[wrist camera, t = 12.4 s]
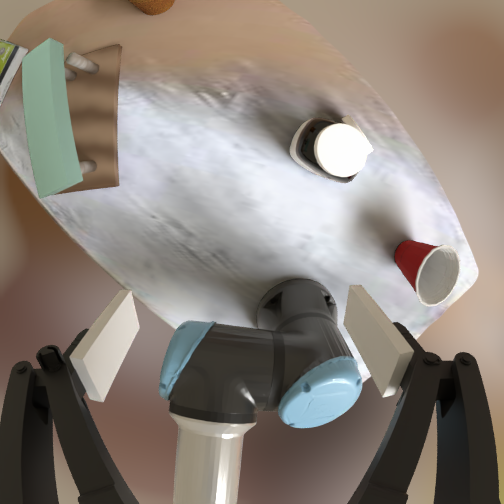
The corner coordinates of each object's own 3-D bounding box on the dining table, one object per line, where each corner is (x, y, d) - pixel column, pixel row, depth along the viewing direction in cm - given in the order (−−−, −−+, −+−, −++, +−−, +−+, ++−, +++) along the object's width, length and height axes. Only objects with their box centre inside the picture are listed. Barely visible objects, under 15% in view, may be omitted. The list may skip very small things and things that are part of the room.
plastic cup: (434, 248, 48) (470, 270, 37) (403, 287, 51) (433, 317, 40) (408, 215, 46) (447, 232, 35) (373, 257, 48) (405, 285, 37)
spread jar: (280, 157, 42) (293, 157, 31) (310, 98, 39) (332, 81, 28) (343, 191, 44) (372, 202, 33) (370, 135, 41) (406, 131, 30)
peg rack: (119, 185, 42) (92, 193, 33) (58, 193, 42) (28, 203, 33) (122, 46, 34) (98, 28, 25) (60, 66, 33) (32, 56, 24)
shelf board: (83, 180, 33) (68, 184, 29) (55, 194, 33) (39, 198, 29) (63, 44, 25) (49, 37, 21) (36, 62, 25) (22, 58, 21)
